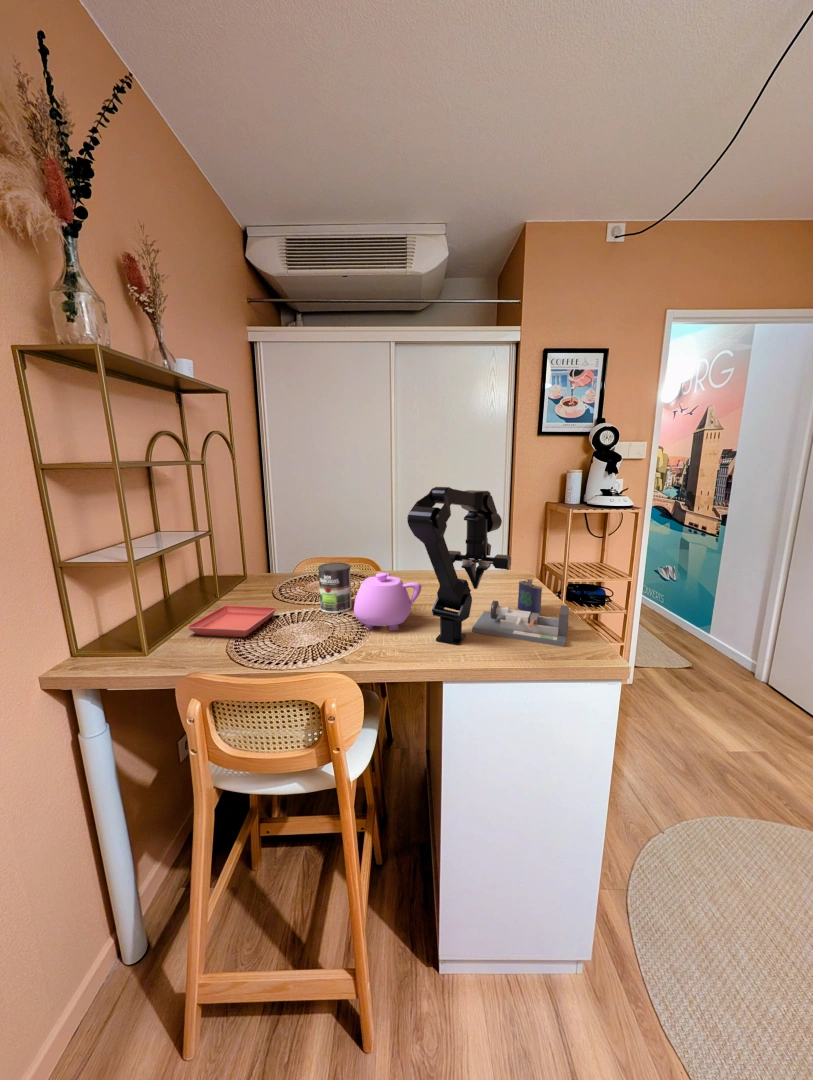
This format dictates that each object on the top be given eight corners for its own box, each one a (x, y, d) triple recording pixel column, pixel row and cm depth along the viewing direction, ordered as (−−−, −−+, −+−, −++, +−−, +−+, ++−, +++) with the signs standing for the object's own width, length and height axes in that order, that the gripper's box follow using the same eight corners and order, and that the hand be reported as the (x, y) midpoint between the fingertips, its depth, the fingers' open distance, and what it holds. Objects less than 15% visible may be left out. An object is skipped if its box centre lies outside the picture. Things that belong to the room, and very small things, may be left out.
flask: (542, 616, 122) (544, 581, 120) (535, 617, 121) (536, 583, 119) (522, 606, 131) (523, 574, 129) (514, 608, 129) (515, 575, 128)
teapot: (424, 609, 130) (423, 563, 127) (419, 635, 110) (419, 582, 107) (363, 608, 132) (362, 563, 129) (349, 633, 112) (346, 581, 109)
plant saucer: (225, 614, 129) (224, 604, 128) (278, 616, 126) (277, 606, 125) (186, 638, 111) (185, 627, 111) (247, 641, 108) (246, 630, 108)
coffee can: (343, 614, 126) (341, 571, 123) (314, 611, 129) (311, 569, 126) (357, 604, 135) (355, 563, 133) (329, 601, 138) (327, 561, 136)
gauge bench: (472, 631, 112) (472, 606, 110) (484, 614, 124) (485, 592, 123) (564, 646, 102) (566, 619, 101) (568, 626, 114) (569, 602, 113)
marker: (526, 634, 106) (527, 624, 105) (531, 622, 114) (532, 612, 114) (533, 635, 105) (534, 625, 104) (538, 622, 113) (538, 613, 113)
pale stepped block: (486, 628, 110) (487, 608, 109) (494, 616, 118) (494, 598, 117) (525, 634, 106) (526, 613, 105) (530, 621, 114) (531, 602, 113)
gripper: (515, 532, 117) (513, 584, 120) (454, 529, 125) (453, 578, 127) (508, 539, 107) (506, 595, 110) (441, 535, 115) (441, 587, 118)
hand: (475, 588), depth 116 cm, fingers closed
